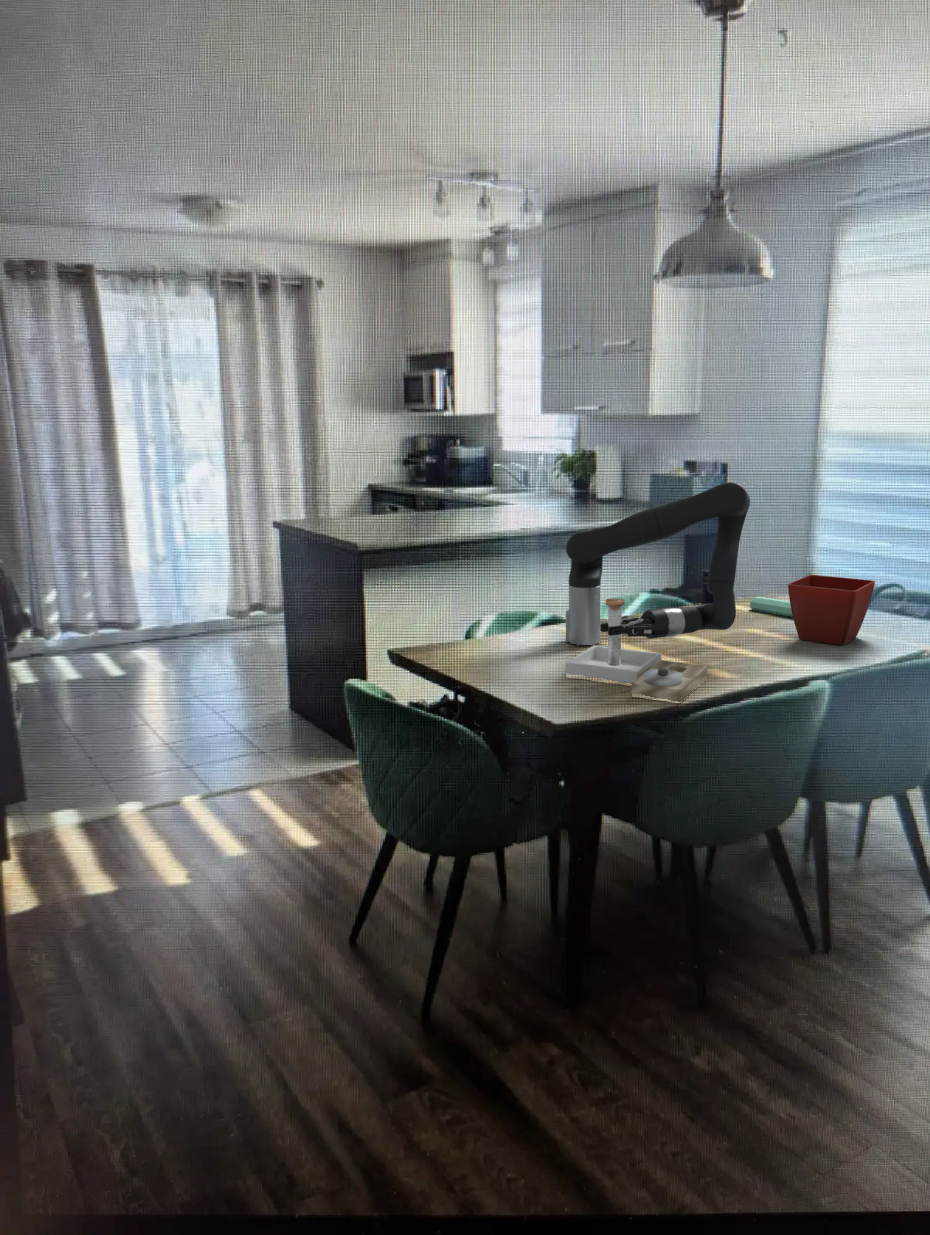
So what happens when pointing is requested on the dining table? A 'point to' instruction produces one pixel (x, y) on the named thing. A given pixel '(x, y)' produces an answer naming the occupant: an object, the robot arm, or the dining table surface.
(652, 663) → the tray
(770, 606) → the mint green rod
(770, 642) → the dining table surface
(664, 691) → the wooden peg base
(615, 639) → the lock pin
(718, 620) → the robot arm
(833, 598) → the plant pot
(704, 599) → the storage jar
